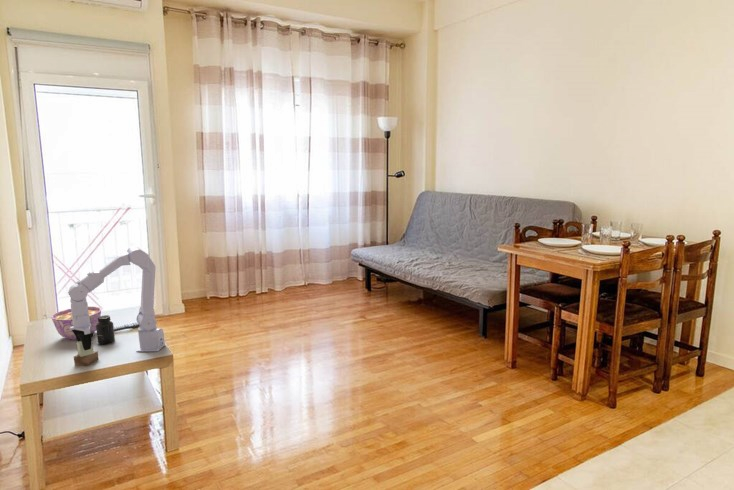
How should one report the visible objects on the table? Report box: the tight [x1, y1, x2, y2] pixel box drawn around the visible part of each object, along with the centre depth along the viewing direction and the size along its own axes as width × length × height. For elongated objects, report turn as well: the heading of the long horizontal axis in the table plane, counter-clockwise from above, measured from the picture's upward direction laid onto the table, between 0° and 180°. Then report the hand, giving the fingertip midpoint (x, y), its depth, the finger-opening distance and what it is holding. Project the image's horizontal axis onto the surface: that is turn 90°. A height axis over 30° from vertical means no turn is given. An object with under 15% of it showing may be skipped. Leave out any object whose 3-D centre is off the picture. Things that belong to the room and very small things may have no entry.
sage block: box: [76, 341, 94, 357], centre depth 193 cm, size 4×4×5 cm
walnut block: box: [73, 350, 100, 367], centre depth 194 cm, size 6×6×4 cm
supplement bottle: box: [96, 314, 116, 346], centre depth 215 cm, size 7×7×12 cm
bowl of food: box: [50, 305, 102, 341], centre depth 223 cm, size 20×20×12 cm
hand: (84, 347), depth 193 cm, fingers open, 7 cm apart
